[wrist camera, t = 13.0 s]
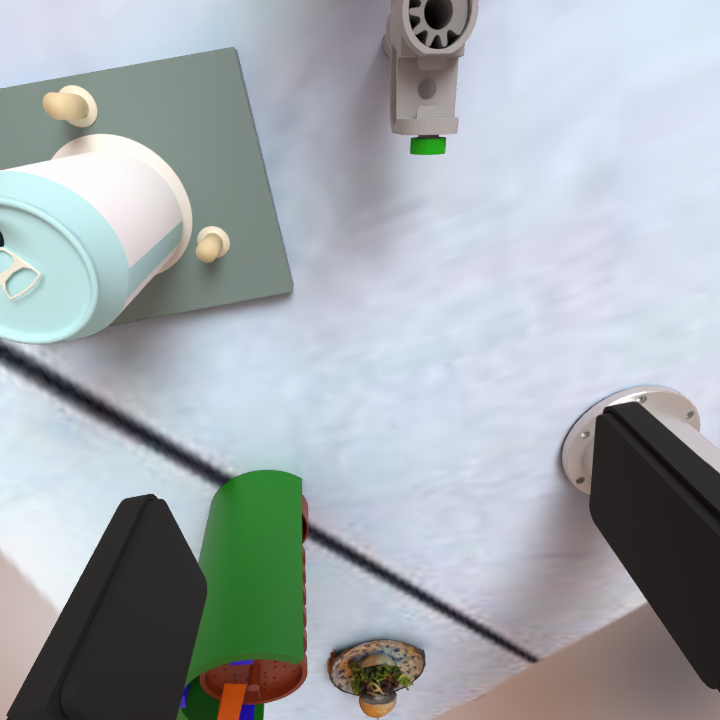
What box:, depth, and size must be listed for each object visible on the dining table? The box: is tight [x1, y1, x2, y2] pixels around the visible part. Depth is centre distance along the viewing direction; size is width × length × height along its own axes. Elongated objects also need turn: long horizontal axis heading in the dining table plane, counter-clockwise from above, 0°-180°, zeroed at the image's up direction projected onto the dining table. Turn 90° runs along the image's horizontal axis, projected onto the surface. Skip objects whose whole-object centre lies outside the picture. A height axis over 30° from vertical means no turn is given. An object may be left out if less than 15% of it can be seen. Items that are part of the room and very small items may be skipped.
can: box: [0, 150, 183, 344], centre depth 22 cm, size 7×7×12 cm
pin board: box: [0, 47, 293, 326], centre depth 27 cm, size 14×18×4 cm
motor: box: [176, 470, 309, 720], centre depth 34 cm, size 10×9×20 cm
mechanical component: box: [383, 0, 478, 155], centre depth 22 cm, size 3×10×10 cm, turn 1°
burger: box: [328, 640, 426, 718], centre depth 53 cm, size 12×12×8 cm
